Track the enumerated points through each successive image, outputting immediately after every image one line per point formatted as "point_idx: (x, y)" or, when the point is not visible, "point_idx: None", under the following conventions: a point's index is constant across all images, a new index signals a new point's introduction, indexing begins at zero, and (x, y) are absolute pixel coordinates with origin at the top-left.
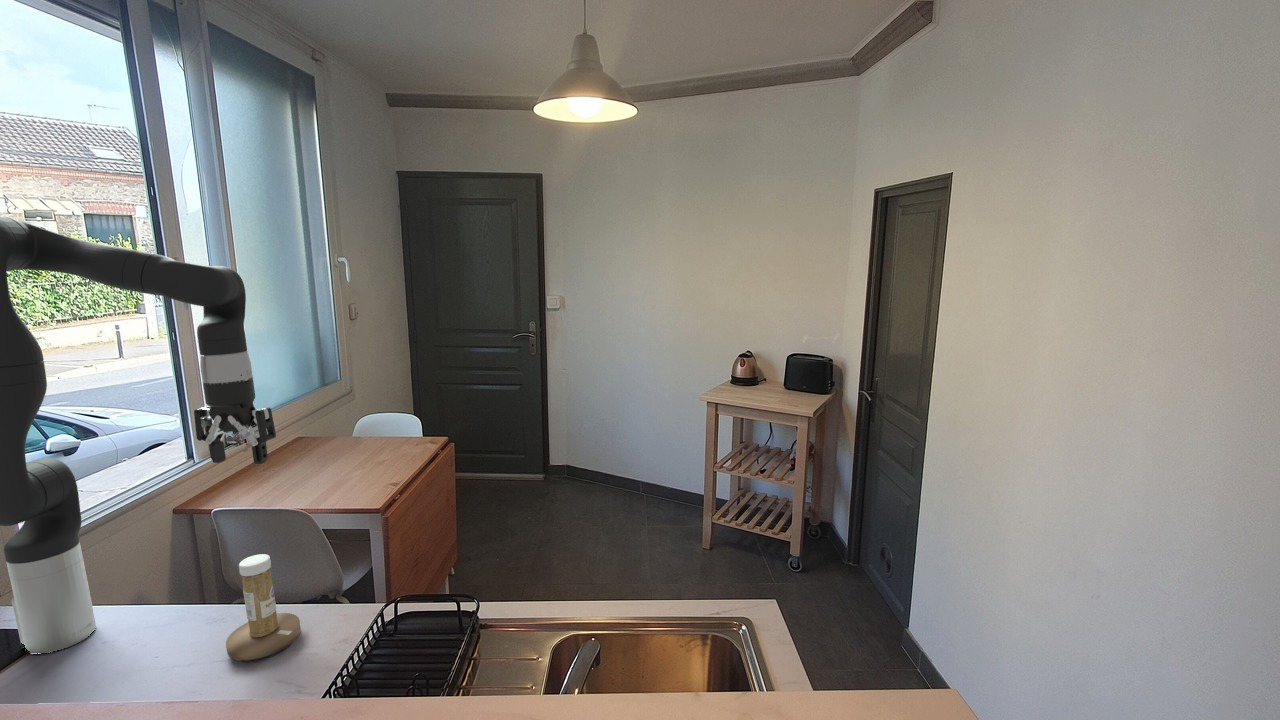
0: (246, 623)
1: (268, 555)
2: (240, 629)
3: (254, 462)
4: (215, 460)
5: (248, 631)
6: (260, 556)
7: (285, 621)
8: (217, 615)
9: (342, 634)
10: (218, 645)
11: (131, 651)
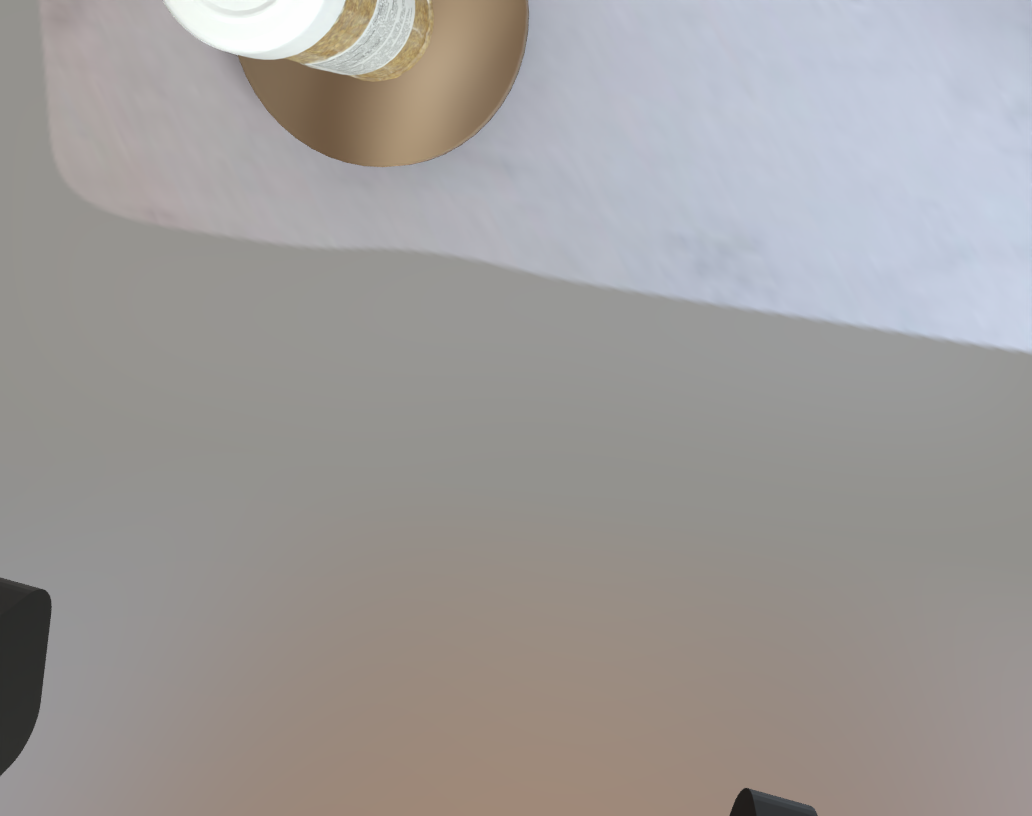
0: (496, 96)
1: (180, 21)
2: (497, 43)
3: (16, 592)
4: (760, 812)
5: (449, 21)
6: (222, 2)
7: (314, 87)
8: (742, 300)
9: (92, 58)
10: (607, 46)
11: (1000, 52)
